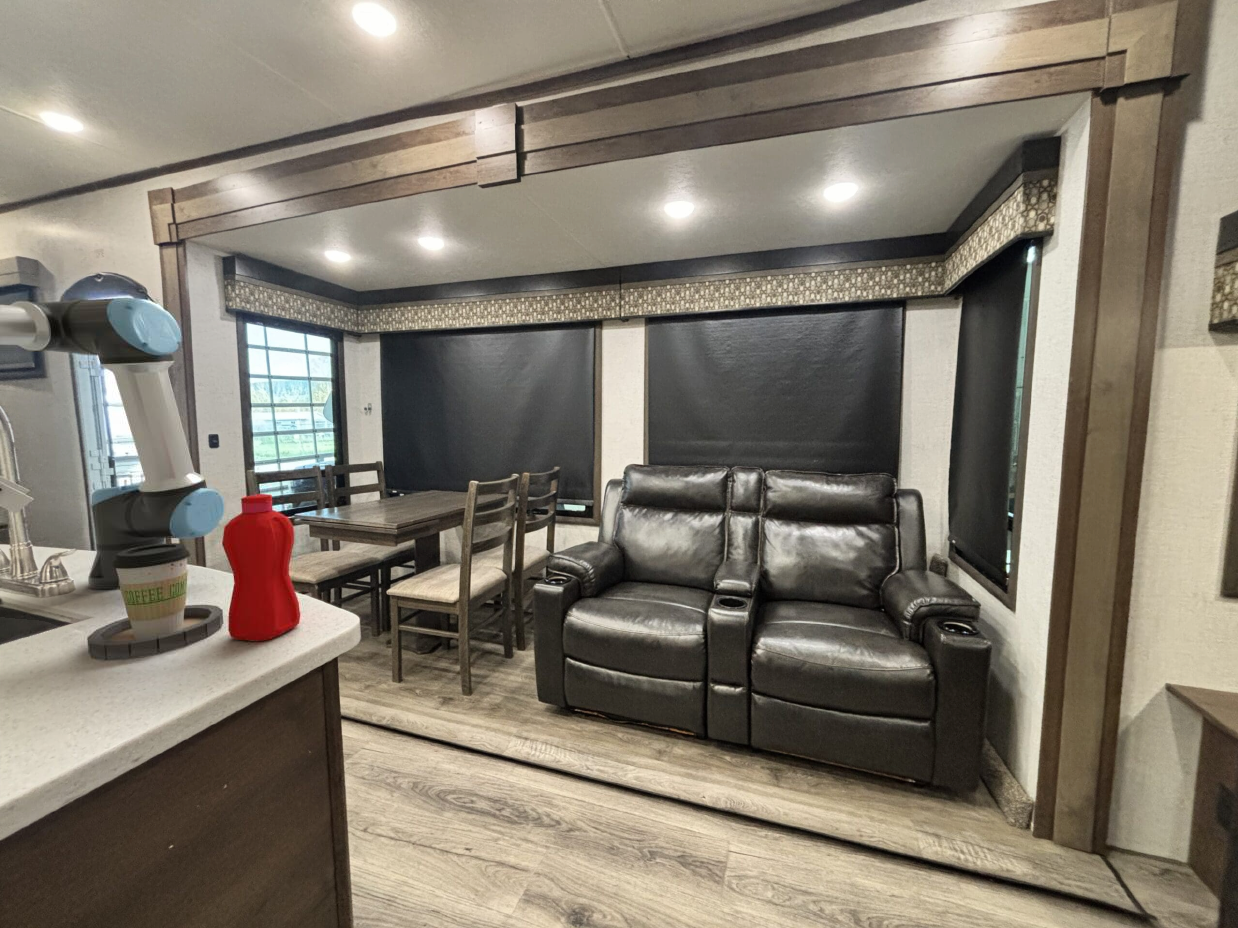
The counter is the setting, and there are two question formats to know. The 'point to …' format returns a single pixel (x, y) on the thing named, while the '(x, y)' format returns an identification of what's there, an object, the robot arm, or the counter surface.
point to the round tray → (122, 644)
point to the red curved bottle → (260, 571)
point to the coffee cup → (153, 587)
